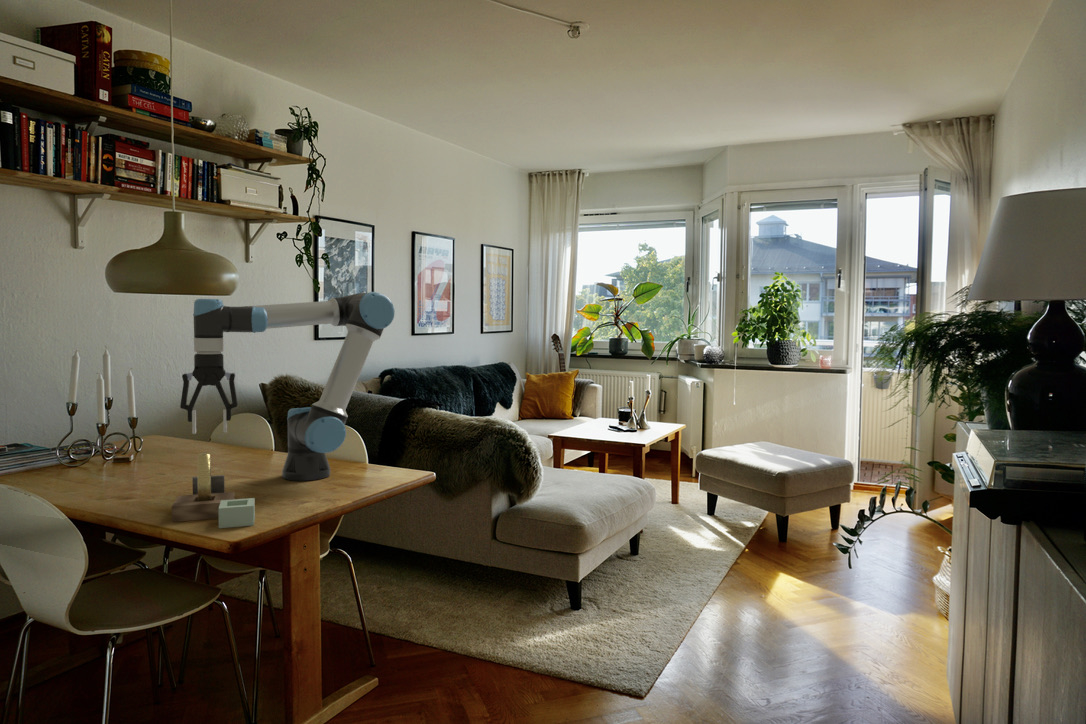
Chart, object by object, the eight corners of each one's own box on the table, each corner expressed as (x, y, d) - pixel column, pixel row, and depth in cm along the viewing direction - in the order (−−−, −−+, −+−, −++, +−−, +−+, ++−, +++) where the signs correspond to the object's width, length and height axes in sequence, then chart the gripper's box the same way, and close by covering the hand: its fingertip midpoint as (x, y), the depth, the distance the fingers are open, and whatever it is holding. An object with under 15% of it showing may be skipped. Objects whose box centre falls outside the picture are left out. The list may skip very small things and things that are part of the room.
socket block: (234, 506, 189) (234, 491, 189) (232, 516, 179) (232, 501, 179) (178, 510, 184) (177, 495, 184) (172, 521, 174) (171, 506, 174)
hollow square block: (254, 516, 180) (254, 497, 179) (253, 525, 172) (253, 505, 172) (221, 519, 177) (221, 500, 177) (218, 528, 169) (218, 508, 169)
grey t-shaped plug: (224, 500, 194) (224, 475, 194) (221, 509, 185) (221, 483, 184) (193, 502, 192) (192, 476, 191) (188, 512, 182) (188, 485, 182)
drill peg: (211, 511, 184) (211, 452, 183) (210, 514, 181) (210, 454, 180) (198, 512, 183) (197, 453, 182) (197, 515, 180) (196, 455, 179)
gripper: (247, 352, 202) (248, 429, 204) (170, 352, 195) (172, 432, 196) (246, 353, 195) (247, 433, 197) (166, 353, 188) (168, 436, 189)
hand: (209, 432), depth 197 cm, fingers open, 7 cm apart
